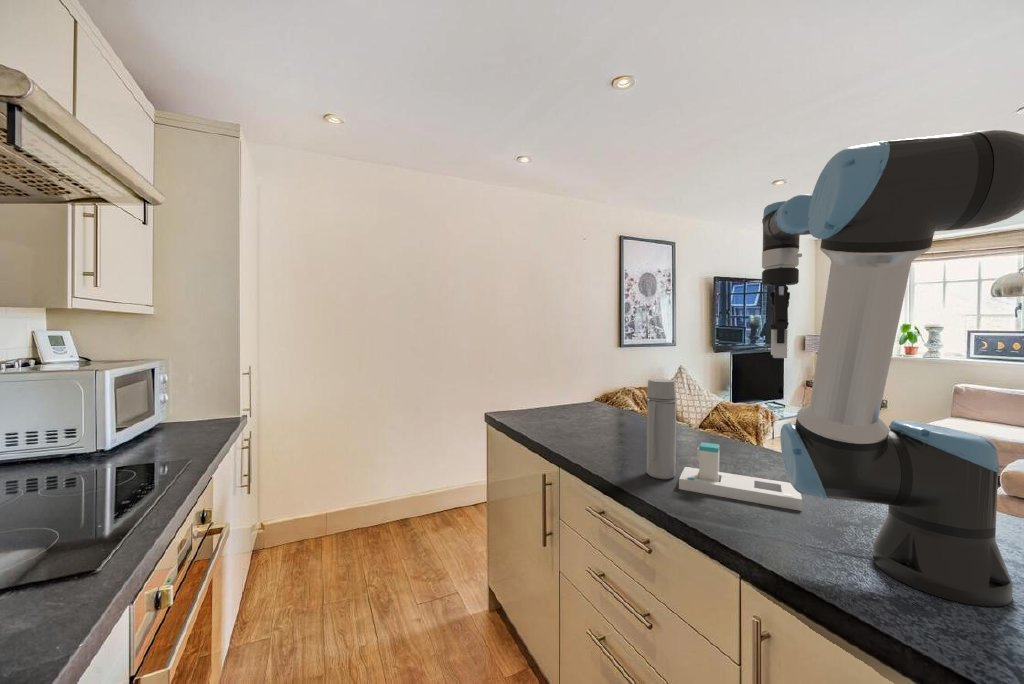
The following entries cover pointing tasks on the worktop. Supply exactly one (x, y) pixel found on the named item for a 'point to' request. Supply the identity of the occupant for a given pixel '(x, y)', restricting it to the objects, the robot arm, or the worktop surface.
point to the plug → (708, 461)
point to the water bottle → (661, 428)
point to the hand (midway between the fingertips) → (778, 356)
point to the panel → (743, 489)
